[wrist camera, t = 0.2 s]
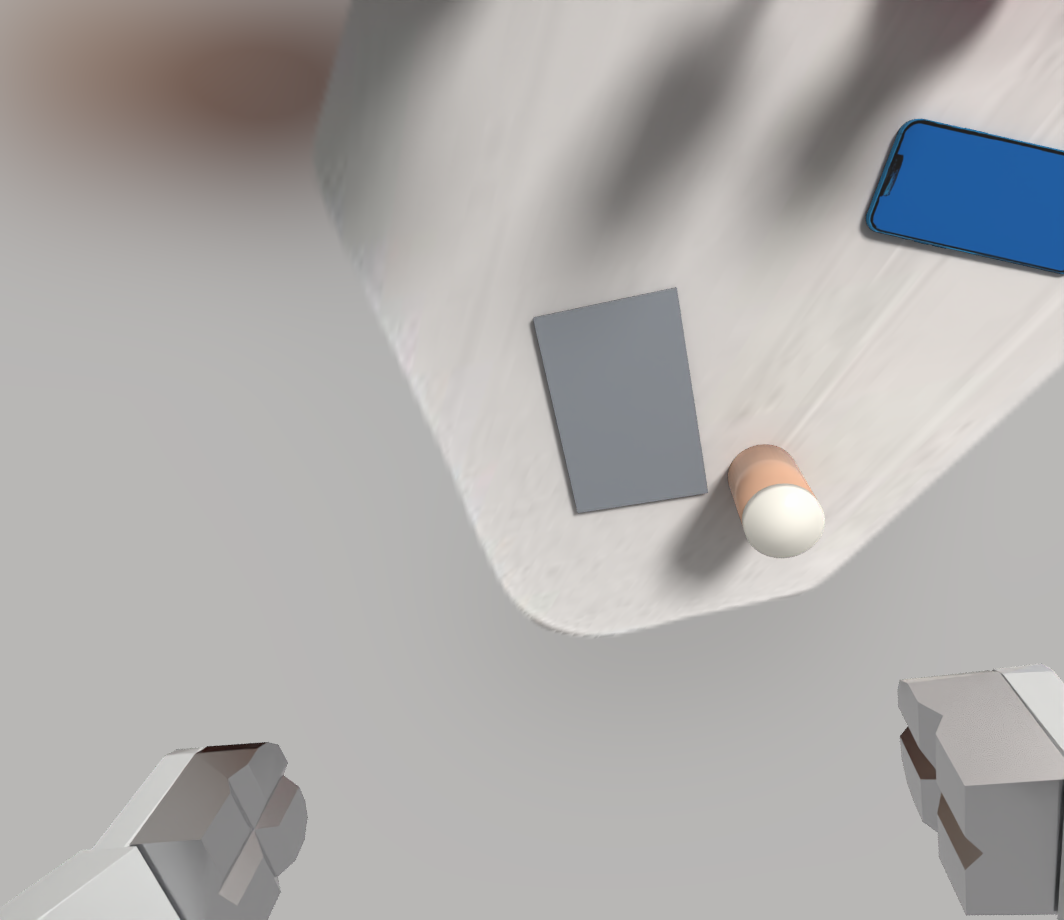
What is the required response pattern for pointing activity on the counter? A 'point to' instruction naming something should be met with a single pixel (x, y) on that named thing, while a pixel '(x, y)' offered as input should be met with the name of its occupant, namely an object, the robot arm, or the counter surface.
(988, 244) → the smartphone
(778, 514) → the terracotta jar
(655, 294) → the slate mat
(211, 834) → the robot arm
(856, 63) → the counter surface
